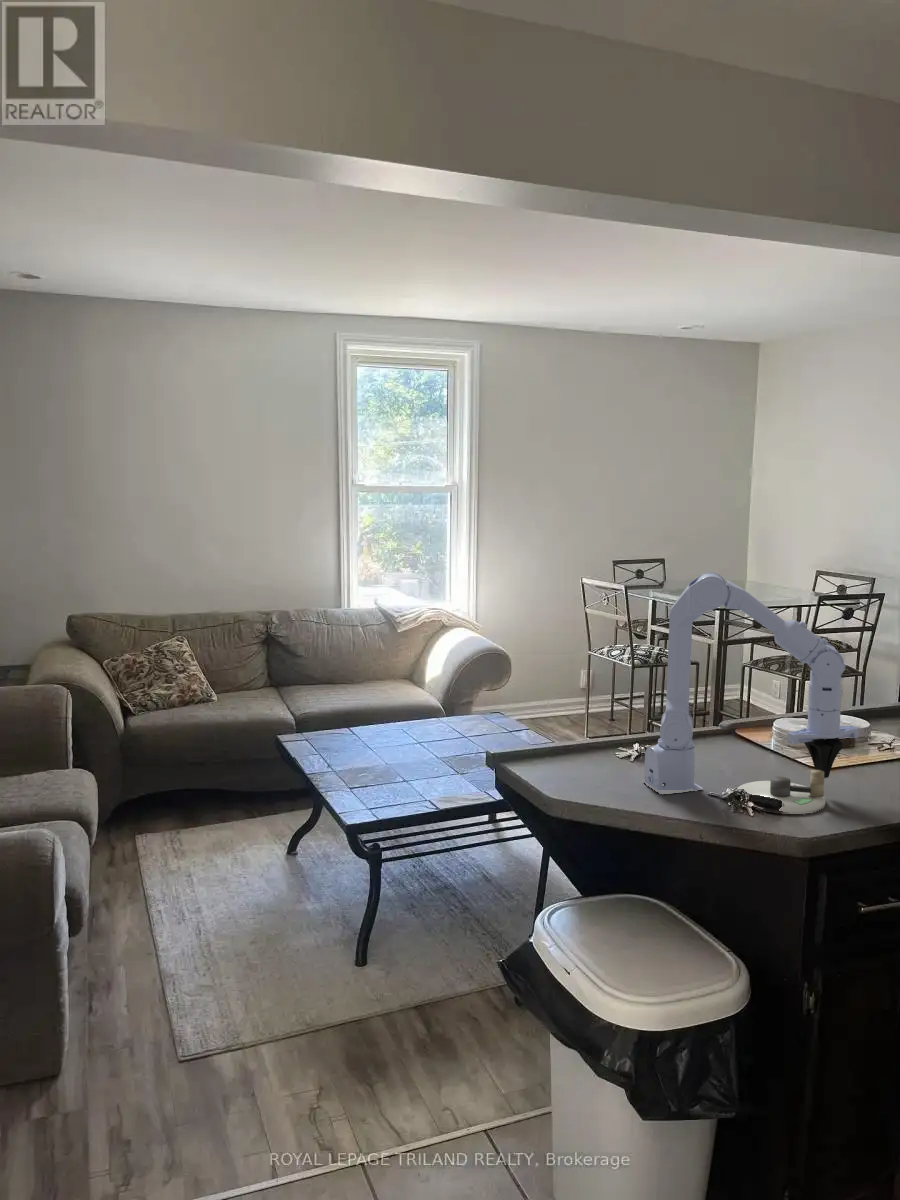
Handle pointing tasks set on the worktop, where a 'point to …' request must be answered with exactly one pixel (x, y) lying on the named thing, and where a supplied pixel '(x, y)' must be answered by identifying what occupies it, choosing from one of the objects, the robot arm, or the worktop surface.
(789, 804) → the dial plate
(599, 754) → the worktop surface
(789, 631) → the robot arm
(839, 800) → the worktop surface
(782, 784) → the crank handle
